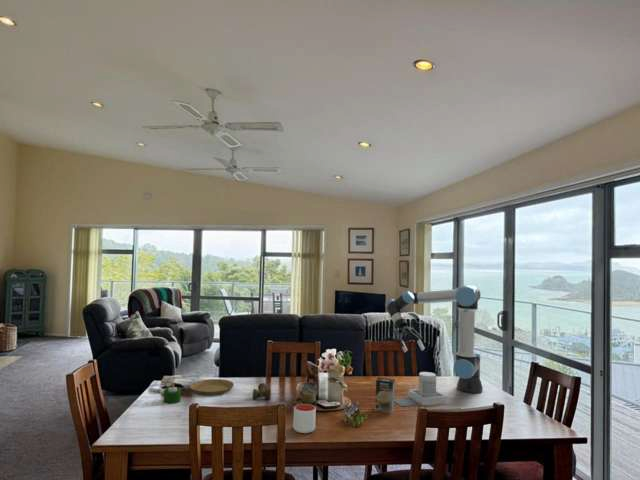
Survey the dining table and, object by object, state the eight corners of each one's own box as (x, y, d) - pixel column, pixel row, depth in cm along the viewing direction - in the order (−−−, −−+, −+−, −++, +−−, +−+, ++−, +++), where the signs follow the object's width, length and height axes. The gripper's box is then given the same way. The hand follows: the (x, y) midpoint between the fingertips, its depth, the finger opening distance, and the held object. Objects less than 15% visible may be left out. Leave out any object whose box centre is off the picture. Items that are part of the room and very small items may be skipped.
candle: (182, 402, 226) (182, 383, 226) (165, 404, 222) (166, 385, 222) (178, 397, 233) (179, 379, 234) (162, 399, 229) (163, 380, 229)
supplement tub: (439, 401, 243) (440, 375, 243) (427, 404, 238) (428, 377, 238) (426, 396, 251) (427, 370, 251) (414, 398, 246) (415, 372, 246)
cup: (292, 425, 201) (293, 403, 201) (314, 425, 202) (315, 403, 202) (293, 434, 191) (294, 411, 192) (315, 434, 192) (316, 411, 192)
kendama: (270, 392, 250) (270, 403, 230) (254, 392, 249) (252, 403, 229) (271, 381, 250) (270, 391, 231) (254, 382, 250) (252, 391, 230)
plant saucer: (181, 391, 245) (181, 385, 245) (213, 381, 265) (213, 376, 265) (210, 400, 231) (211, 394, 232) (242, 389, 251) (242, 384, 252)
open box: (430, 394, 254) (430, 388, 254) (446, 403, 240) (446, 396, 240) (408, 396, 249) (408, 389, 249) (423, 405, 235) (423, 398, 235)
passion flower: (345, 433, 208) (340, 407, 215) (367, 428, 209) (362, 403, 216) (347, 427, 199) (341, 401, 206) (370, 423, 200) (363, 396, 207)
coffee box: (374, 411, 223) (375, 379, 224) (376, 407, 229) (377, 376, 230) (392, 414, 220) (393, 382, 221) (394, 409, 226) (395, 379, 227)
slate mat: (409, 397, 247) (409, 397, 247) (420, 404, 236) (420, 404, 236) (390, 399, 243) (390, 398, 243) (401, 406, 232) (401, 406, 232)
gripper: (411, 324, 283) (427, 352, 269) (381, 325, 271) (395, 355, 257) (417, 317, 278) (433, 345, 265) (386, 318, 266) (401, 348, 253)
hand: (414, 350), depth 261 cm, fingers open, 13 cm apart
